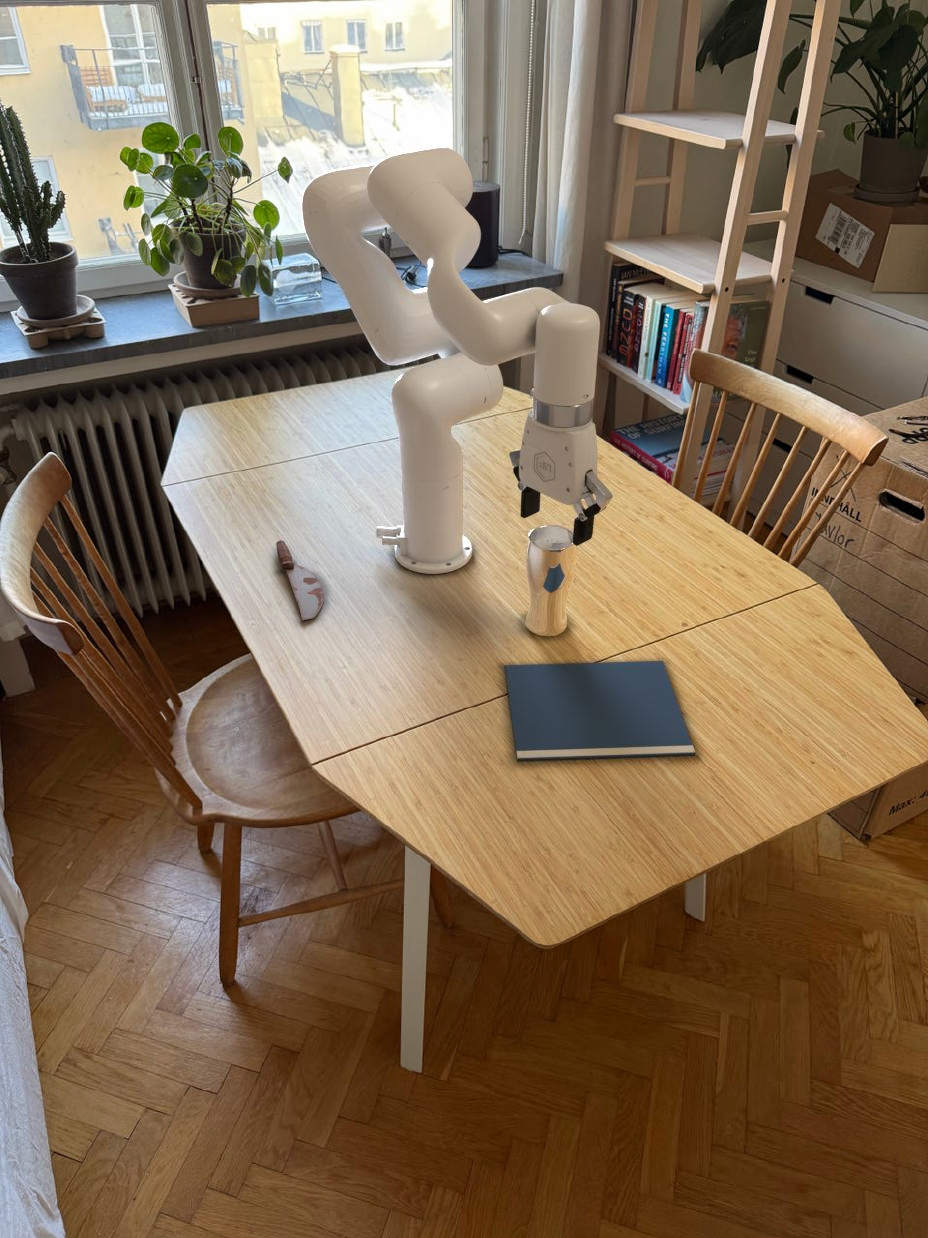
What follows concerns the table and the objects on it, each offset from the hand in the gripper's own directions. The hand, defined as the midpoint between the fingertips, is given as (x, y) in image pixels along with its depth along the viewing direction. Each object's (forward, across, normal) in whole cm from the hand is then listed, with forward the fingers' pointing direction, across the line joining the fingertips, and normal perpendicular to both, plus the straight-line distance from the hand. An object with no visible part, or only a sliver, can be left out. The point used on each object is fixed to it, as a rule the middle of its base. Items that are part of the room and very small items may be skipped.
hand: (555, 527), depth 125 cm
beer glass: (+17, -1, 0) cm, 17 cm away
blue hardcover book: (+17, +16, -8) cm, 25 cm away
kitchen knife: (+16, -34, -20) cm, 43 cm away
